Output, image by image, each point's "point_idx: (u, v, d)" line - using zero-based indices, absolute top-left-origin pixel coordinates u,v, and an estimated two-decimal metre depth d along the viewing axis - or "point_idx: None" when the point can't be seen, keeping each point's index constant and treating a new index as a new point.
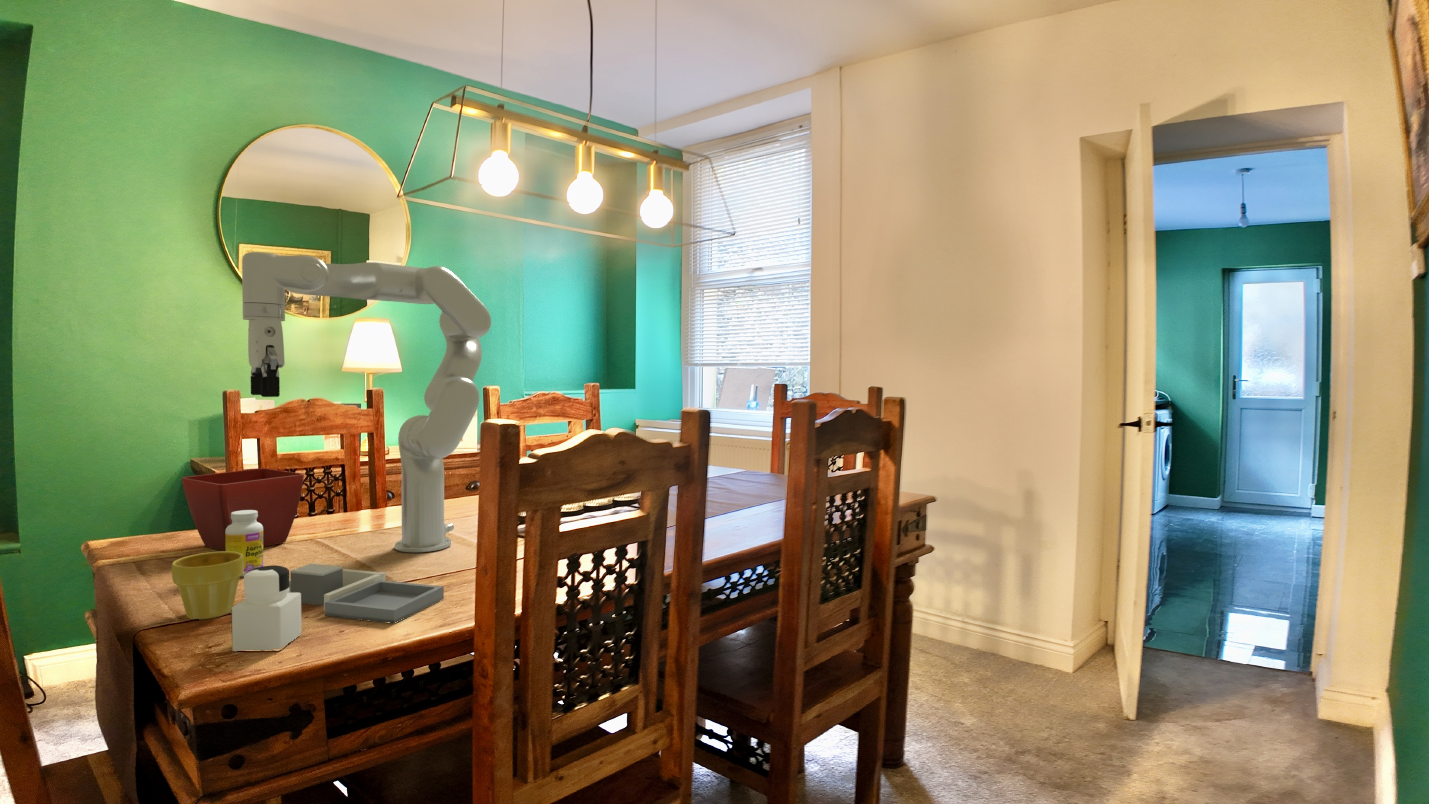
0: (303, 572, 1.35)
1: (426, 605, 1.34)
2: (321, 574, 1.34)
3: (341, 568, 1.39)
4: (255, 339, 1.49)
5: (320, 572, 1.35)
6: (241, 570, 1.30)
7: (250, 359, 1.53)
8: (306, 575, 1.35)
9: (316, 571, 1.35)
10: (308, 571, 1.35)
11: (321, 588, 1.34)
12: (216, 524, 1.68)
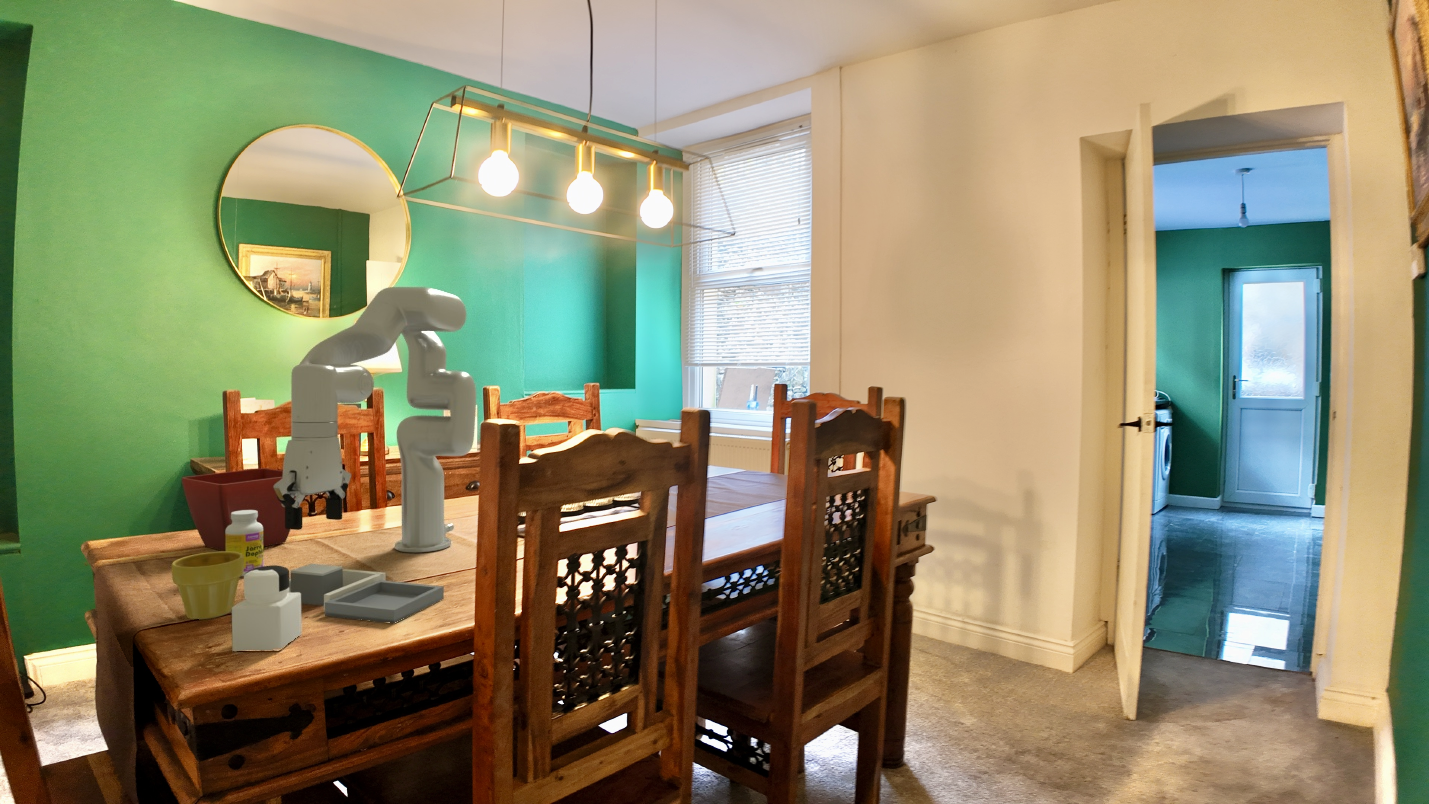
0: (303, 572, 1.35)
1: (426, 605, 1.34)
2: (321, 574, 1.34)
3: (341, 568, 1.39)
4: (338, 460, 1.39)
5: (320, 572, 1.35)
6: (241, 570, 1.30)
7: (317, 485, 1.34)
8: (306, 575, 1.35)
9: (316, 571, 1.35)
10: (308, 571, 1.35)
11: (321, 588, 1.34)
12: (216, 524, 1.68)
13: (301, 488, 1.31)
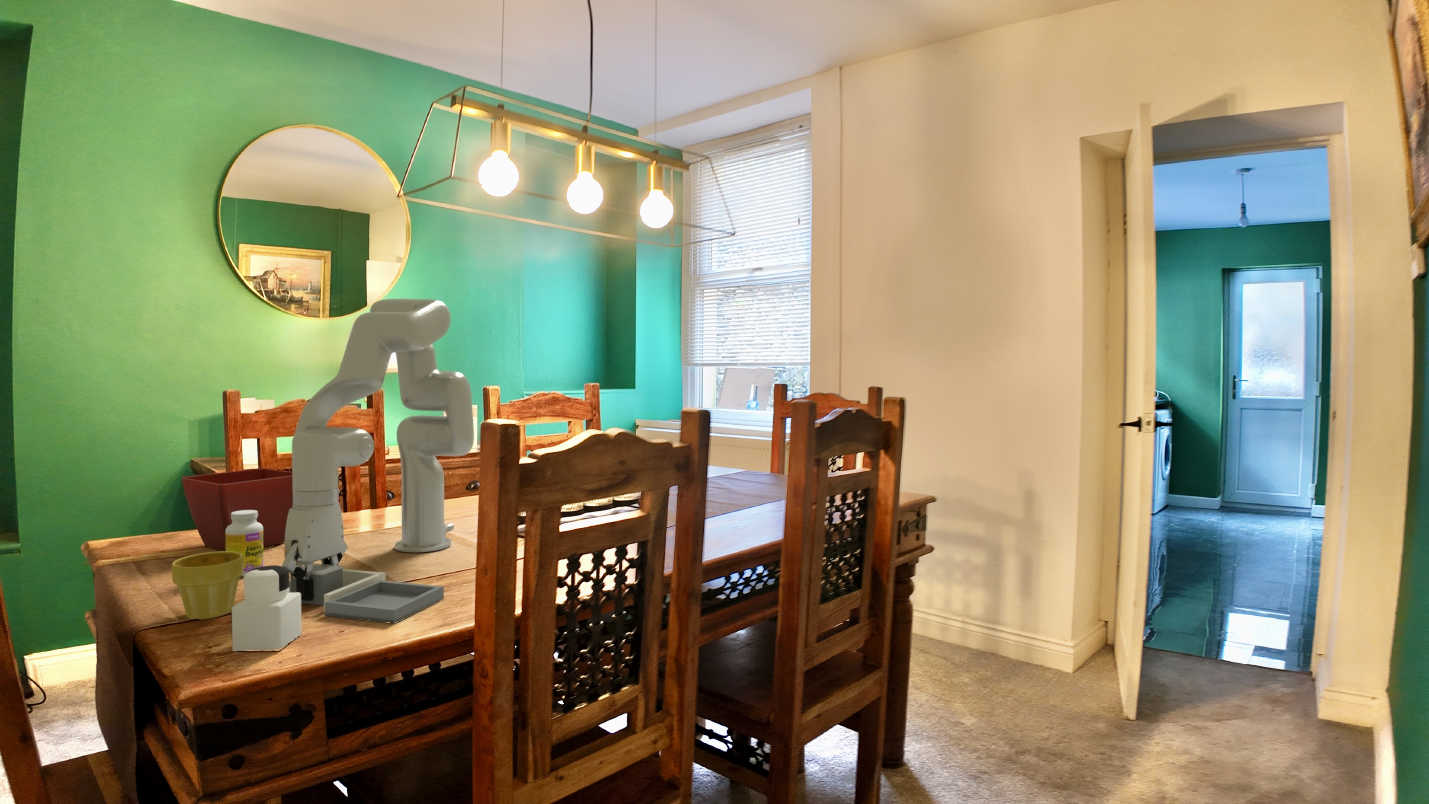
0: None
1: (426, 605, 1.34)
2: (321, 573, 1.34)
3: (341, 568, 1.39)
4: (339, 525, 1.40)
5: (320, 571, 1.35)
6: (241, 570, 1.30)
7: (318, 552, 1.35)
8: None
9: (316, 570, 1.35)
10: None
11: (321, 588, 1.34)
12: (216, 524, 1.68)
13: (303, 557, 1.32)
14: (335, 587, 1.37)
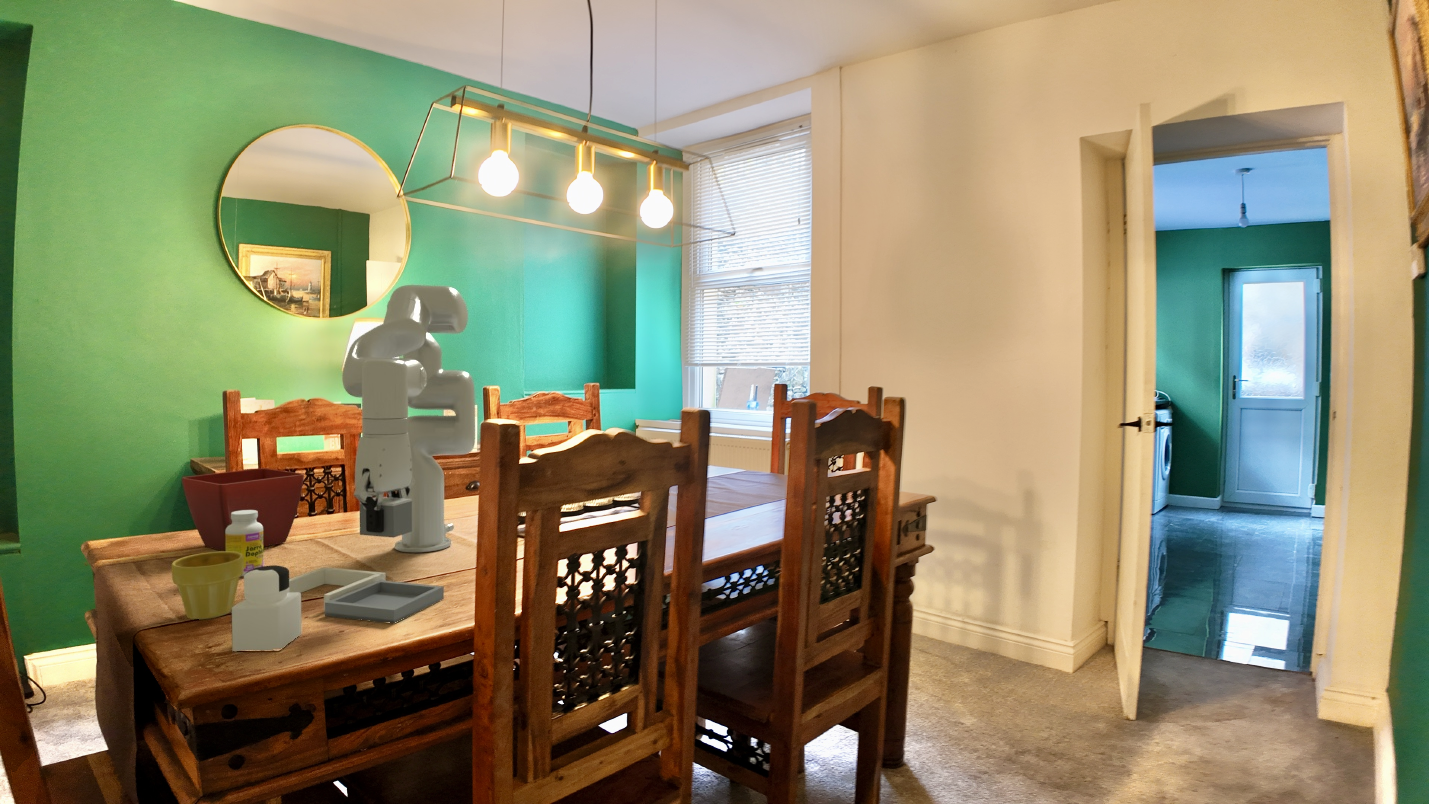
0: None
1: (426, 605, 1.34)
2: (392, 504, 1.30)
3: (410, 500, 1.34)
4: (408, 457, 1.35)
5: (391, 502, 1.30)
6: (241, 570, 1.30)
7: (389, 483, 1.31)
8: None
9: (386, 502, 1.31)
10: None
11: (392, 519, 1.30)
12: (216, 524, 1.68)
13: (375, 486, 1.28)
14: (405, 520, 1.33)
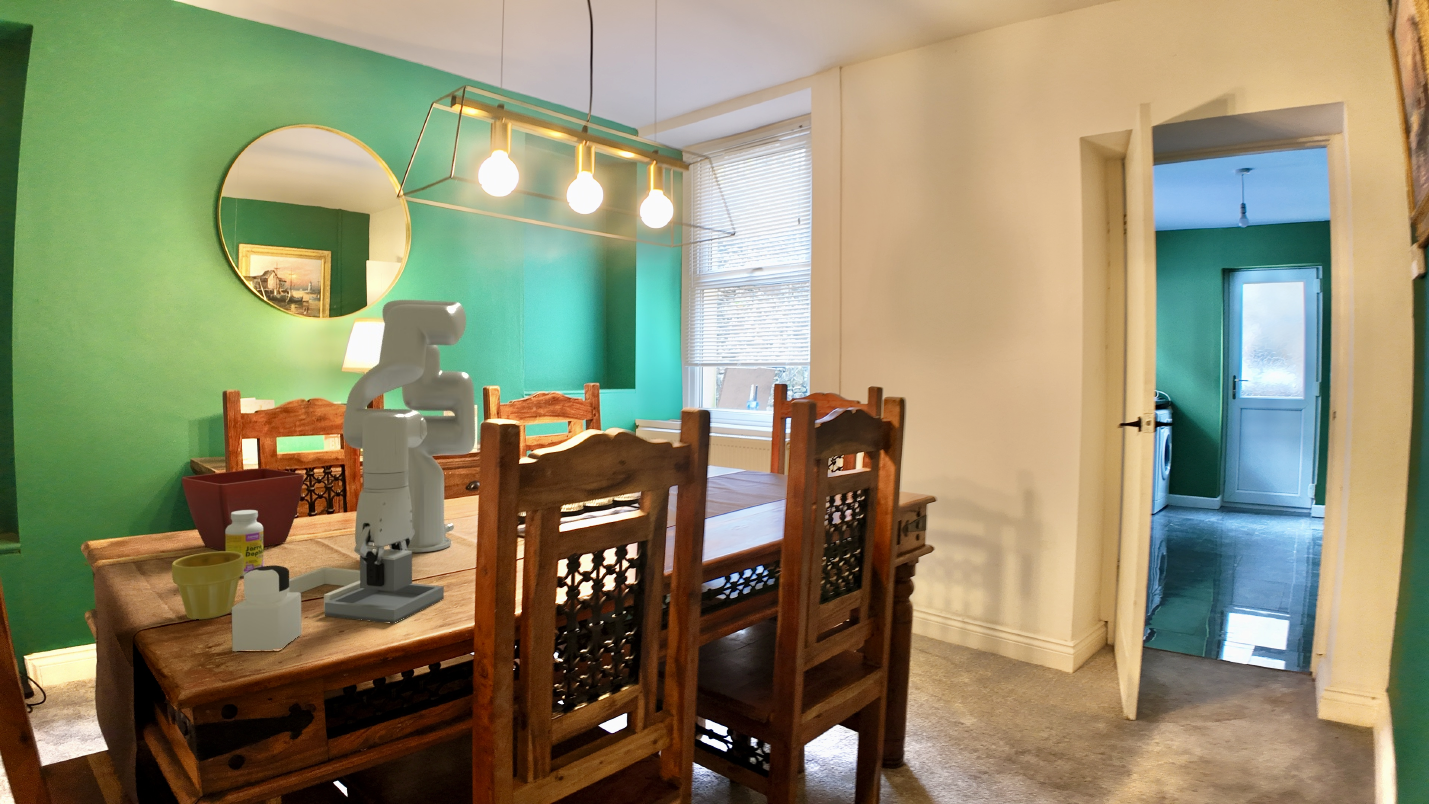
0: None
1: (426, 605, 1.34)
2: (392, 558, 1.30)
3: (410, 553, 1.35)
4: (408, 509, 1.36)
5: (391, 556, 1.31)
6: (241, 570, 1.30)
7: (389, 537, 1.31)
8: None
9: (386, 555, 1.31)
10: None
11: (392, 573, 1.30)
12: (216, 524, 1.68)
13: (375, 541, 1.28)
14: (405, 572, 1.33)
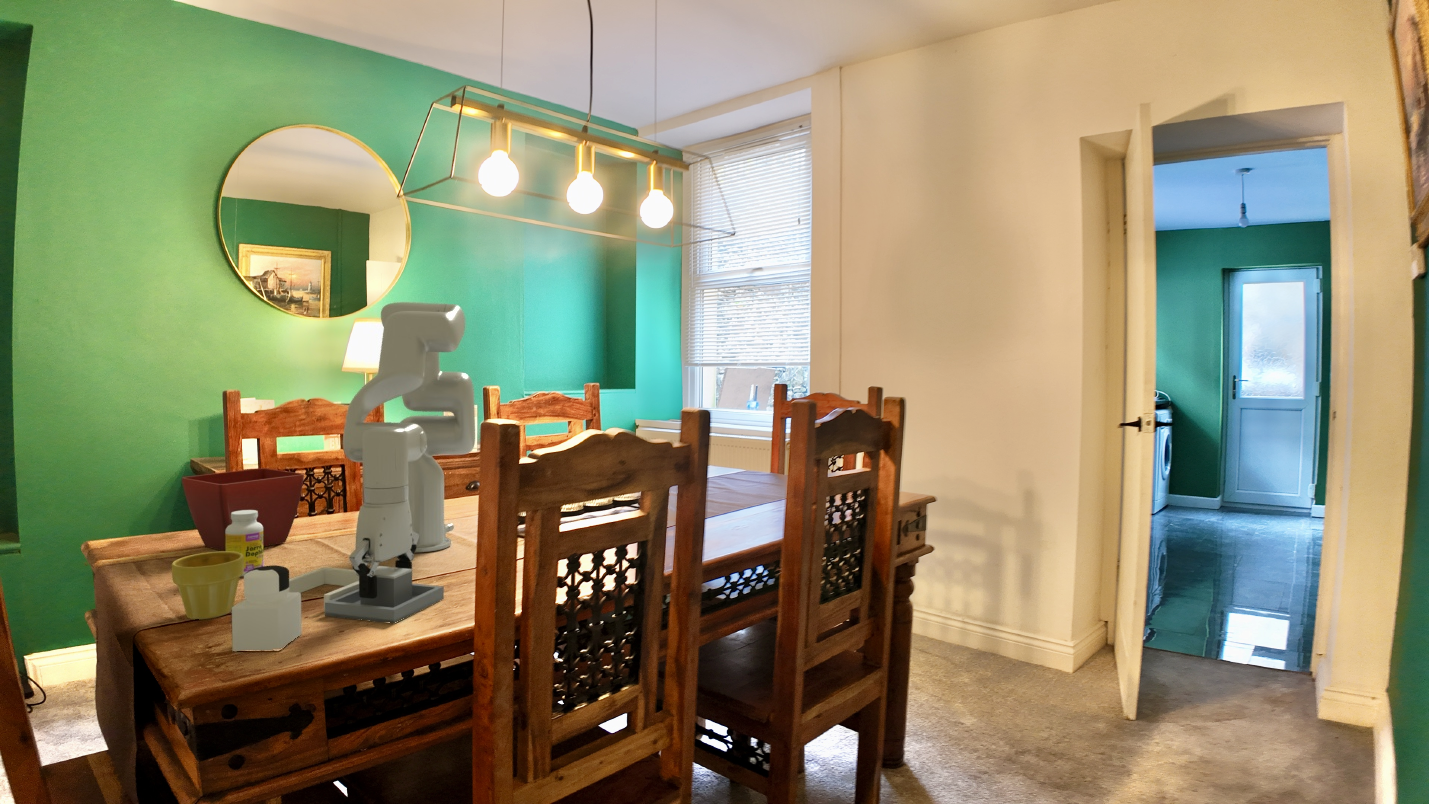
0: None
1: (426, 605, 1.34)
2: (392, 577, 1.31)
3: (411, 571, 1.35)
4: (408, 523, 1.36)
5: (391, 575, 1.31)
6: (241, 570, 1.30)
7: (389, 551, 1.31)
8: None
9: (387, 574, 1.32)
10: (378, 574, 1.32)
11: (392, 592, 1.31)
12: (216, 524, 1.68)
13: (375, 556, 1.28)
14: (405, 591, 1.34)
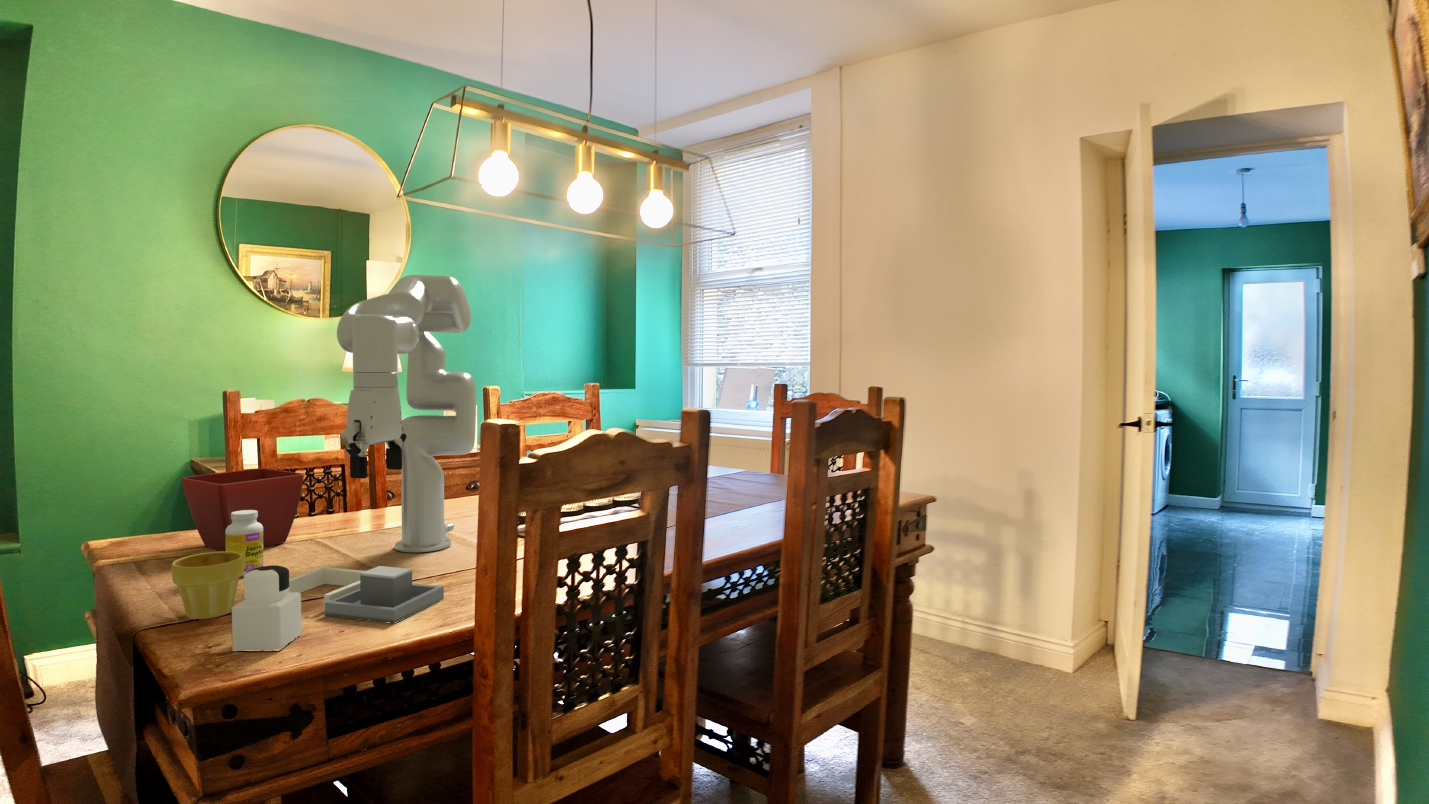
0: (373, 575, 1.32)
1: (426, 605, 1.34)
2: (392, 577, 1.31)
3: (411, 571, 1.35)
4: (398, 410, 1.40)
5: (391, 575, 1.31)
6: (241, 570, 1.30)
7: (380, 435, 1.35)
8: (376, 578, 1.31)
9: (387, 574, 1.32)
10: (378, 574, 1.32)
11: (392, 592, 1.31)
12: (216, 524, 1.68)
13: (366, 437, 1.32)
14: (405, 591, 1.34)
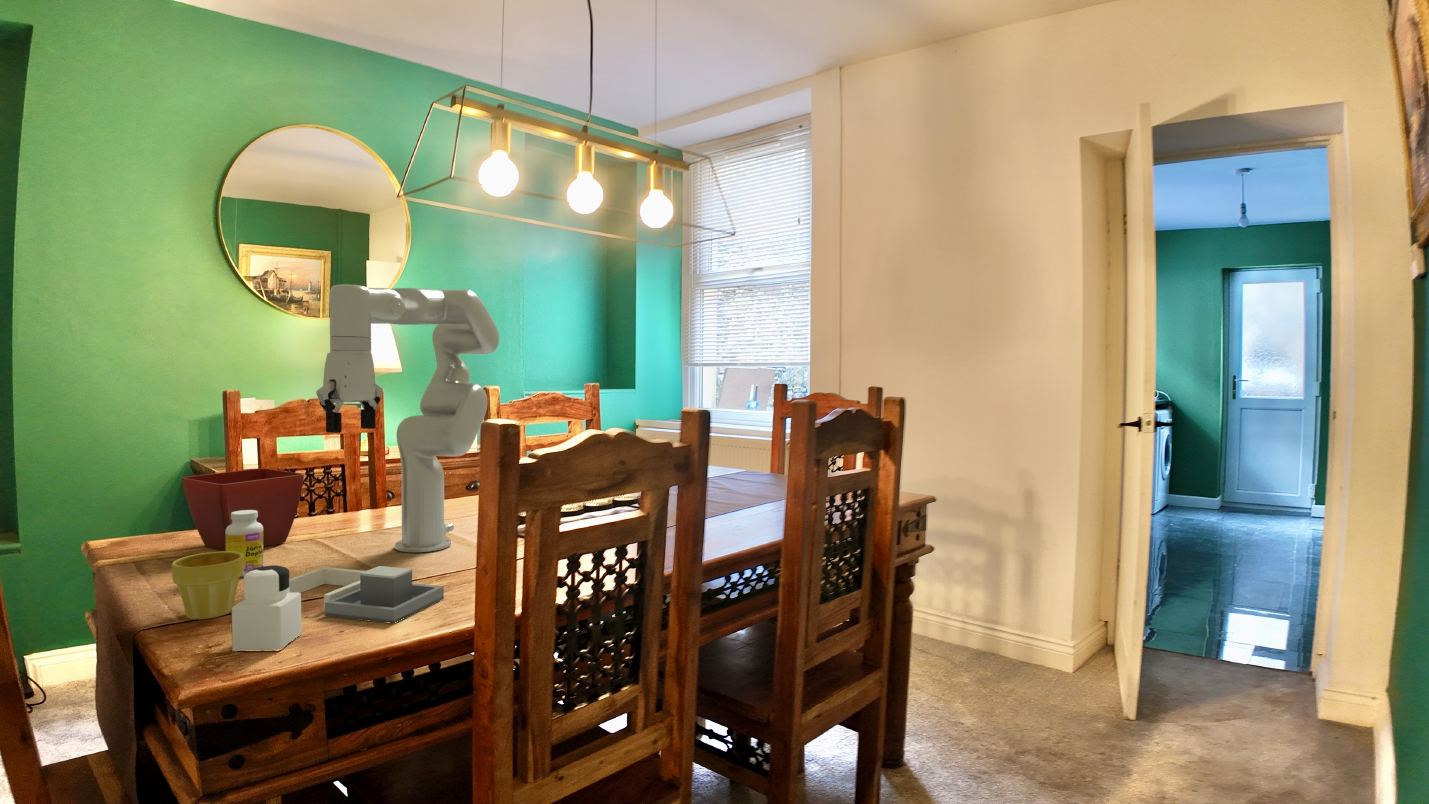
0: (373, 575, 1.32)
1: (426, 605, 1.34)
2: (392, 577, 1.31)
3: (411, 571, 1.35)
4: (371, 373, 1.53)
5: (391, 575, 1.31)
6: (241, 570, 1.30)
7: (353, 394, 1.48)
8: (376, 578, 1.31)
9: (387, 574, 1.32)
10: (378, 574, 1.32)
11: (392, 592, 1.31)
12: (216, 524, 1.68)
13: (340, 395, 1.45)
14: (405, 591, 1.34)
